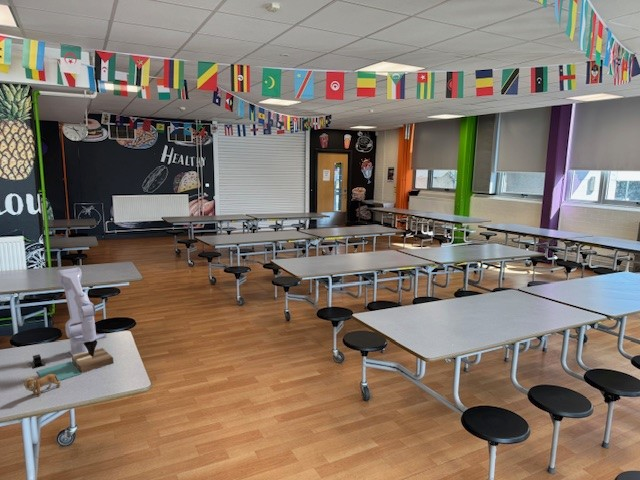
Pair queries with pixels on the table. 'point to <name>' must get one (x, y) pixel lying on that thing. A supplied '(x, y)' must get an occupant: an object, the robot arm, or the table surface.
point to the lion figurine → (40, 383)
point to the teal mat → (60, 371)
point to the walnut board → (95, 361)
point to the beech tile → (82, 357)
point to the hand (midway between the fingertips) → (91, 355)
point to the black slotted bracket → (37, 362)
